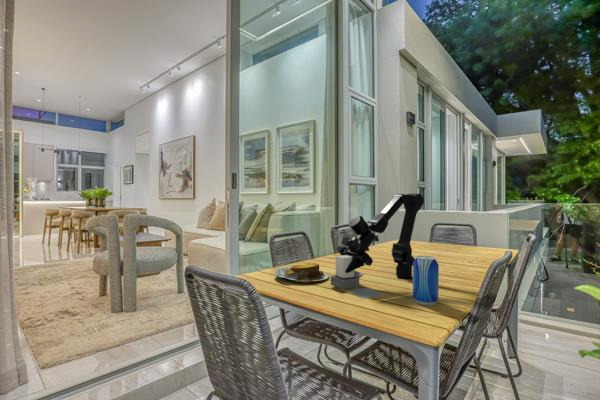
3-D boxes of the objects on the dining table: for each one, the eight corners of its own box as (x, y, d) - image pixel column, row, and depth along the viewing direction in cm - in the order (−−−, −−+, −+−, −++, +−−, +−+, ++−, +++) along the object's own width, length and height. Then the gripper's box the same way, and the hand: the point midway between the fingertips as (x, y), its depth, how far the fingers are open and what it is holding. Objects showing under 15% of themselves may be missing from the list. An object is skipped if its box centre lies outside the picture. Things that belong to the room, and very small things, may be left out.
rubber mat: (367, 288, 128) (367, 287, 128) (384, 295, 119) (384, 294, 119) (347, 292, 123) (347, 290, 123) (363, 299, 114) (363, 298, 114)
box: (346, 283, 134) (346, 255, 134) (354, 286, 129) (354, 257, 129) (335, 284, 132) (335, 256, 132) (343, 288, 127) (343, 258, 127)
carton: (352, 281, 138) (352, 269, 137) (364, 286, 130) (364, 273, 130) (325, 286, 131) (325, 273, 131) (336, 291, 124) (336, 277, 124)
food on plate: (285, 270, 160) (285, 257, 160) (333, 274, 152) (333, 260, 152) (264, 283, 136) (264, 267, 136) (320, 288, 128) (320, 272, 128)
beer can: (436, 308, 106) (436, 260, 106) (410, 303, 110) (410, 258, 110) (439, 301, 113) (440, 256, 113) (415, 297, 118) (415, 254, 117)
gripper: (340, 227, 140) (318, 254, 136) (367, 232, 124) (343, 262, 119) (354, 244, 144) (334, 270, 139) (382, 250, 127) (360, 281, 123)
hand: (342, 271), depth 130 cm, fingers closed on box, 5 cm apart
